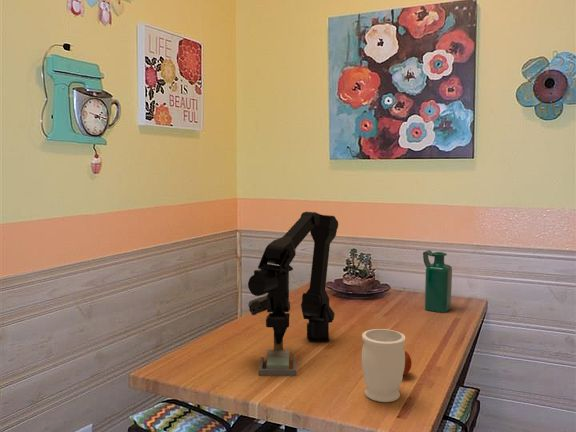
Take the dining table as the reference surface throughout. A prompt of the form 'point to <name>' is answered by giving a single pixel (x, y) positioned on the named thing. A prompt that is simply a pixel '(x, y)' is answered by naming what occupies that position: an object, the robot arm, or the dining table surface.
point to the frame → (277, 370)
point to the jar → (383, 363)
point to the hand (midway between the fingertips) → (278, 341)
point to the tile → (278, 363)
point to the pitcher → (437, 283)
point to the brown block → (278, 350)
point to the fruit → (407, 363)
